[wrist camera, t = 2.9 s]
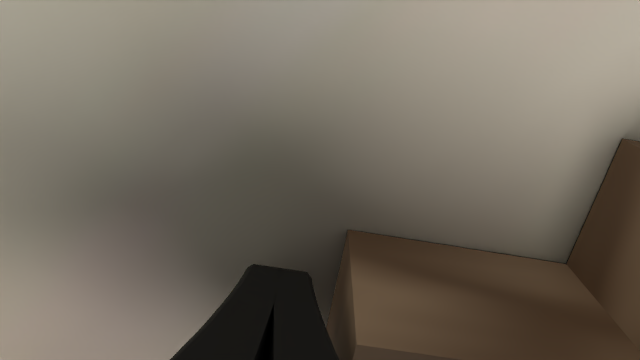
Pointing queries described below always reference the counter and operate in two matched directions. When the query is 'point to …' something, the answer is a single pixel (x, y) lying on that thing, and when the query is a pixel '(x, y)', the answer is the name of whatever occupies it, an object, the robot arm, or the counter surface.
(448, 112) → the counter surface
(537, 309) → the walnut tee
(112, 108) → the counter surface
